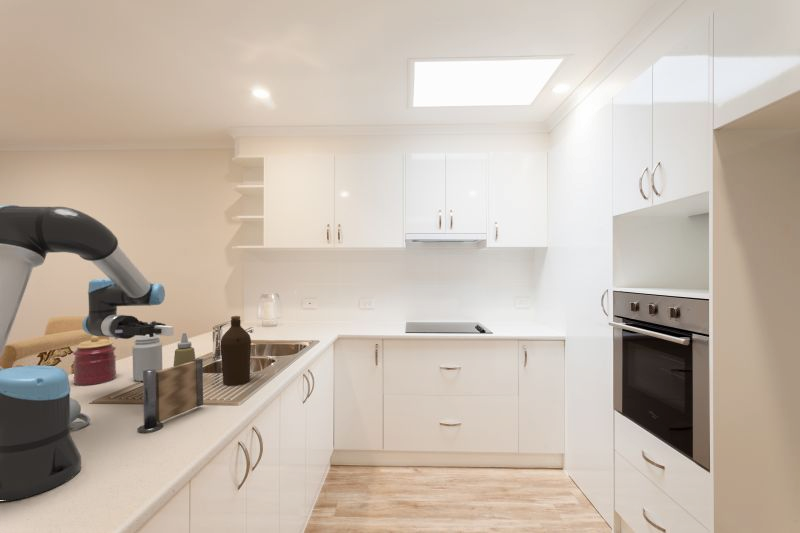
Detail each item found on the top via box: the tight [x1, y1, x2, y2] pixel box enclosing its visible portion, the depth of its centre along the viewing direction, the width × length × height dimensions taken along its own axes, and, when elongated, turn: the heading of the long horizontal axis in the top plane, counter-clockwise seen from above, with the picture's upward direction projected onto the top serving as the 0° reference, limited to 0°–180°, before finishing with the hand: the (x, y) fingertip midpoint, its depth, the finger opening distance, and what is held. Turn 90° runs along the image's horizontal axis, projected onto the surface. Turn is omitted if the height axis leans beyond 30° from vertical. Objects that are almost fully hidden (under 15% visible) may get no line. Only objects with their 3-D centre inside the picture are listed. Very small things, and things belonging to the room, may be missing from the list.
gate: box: [156, 357, 204, 422], centre depth 112 cm, size 14×2×14 cm, turn 158°
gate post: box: [136, 369, 164, 434], centre depth 103 cm, size 6×6×16 cm
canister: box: [72, 335, 117, 386], centre depth 146 cm, size 13×13×18 cm
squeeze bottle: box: [172, 332, 196, 367], centre depth 147 cm, size 8×8×18 cm
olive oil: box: [220, 315, 252, 387], centre depth 143 cm, size 11×11×25 cm
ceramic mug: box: [70, 397, 91, 429], centre depth 104 cm, size 11×8×8 cm
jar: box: [132, 334, 163, 383], centre depth 148 cm, size 10×10×18 cm
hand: (171, 331), depth 116 cm, fingers closed
